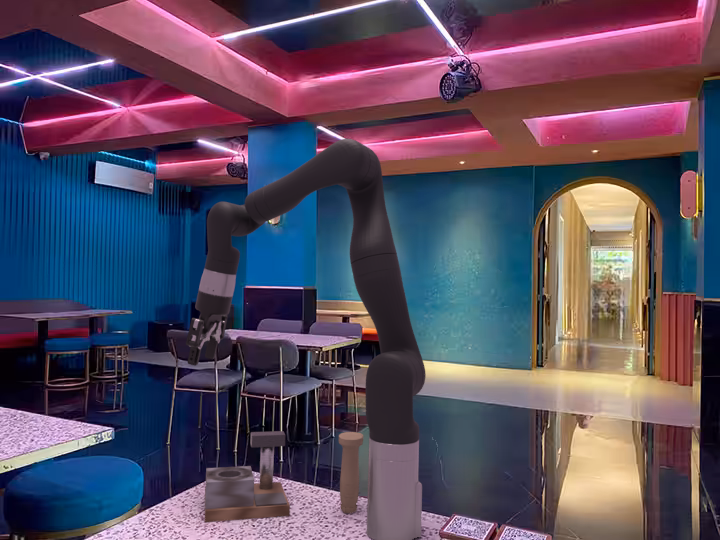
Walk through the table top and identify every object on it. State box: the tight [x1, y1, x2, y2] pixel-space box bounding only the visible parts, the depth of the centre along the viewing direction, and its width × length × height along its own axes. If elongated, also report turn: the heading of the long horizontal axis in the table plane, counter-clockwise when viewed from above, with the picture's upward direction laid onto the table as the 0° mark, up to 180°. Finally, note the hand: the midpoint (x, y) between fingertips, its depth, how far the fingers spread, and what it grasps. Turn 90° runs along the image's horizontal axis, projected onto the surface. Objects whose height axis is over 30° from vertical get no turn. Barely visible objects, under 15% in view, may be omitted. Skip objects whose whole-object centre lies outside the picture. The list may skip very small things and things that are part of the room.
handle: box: [338, 431, 364, 514], centre depth 112 cm, size 5×6×15 cm
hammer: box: [250, 430, 286, 490], centre depth 118 cm, size 7×3×11 cm, turn 106°
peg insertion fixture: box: [204, 465, 291, 523], centre depth 113 cm, size 16×14×7 cm
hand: (201, 361), depth 124 cm, fingers open, 8 cm apart
